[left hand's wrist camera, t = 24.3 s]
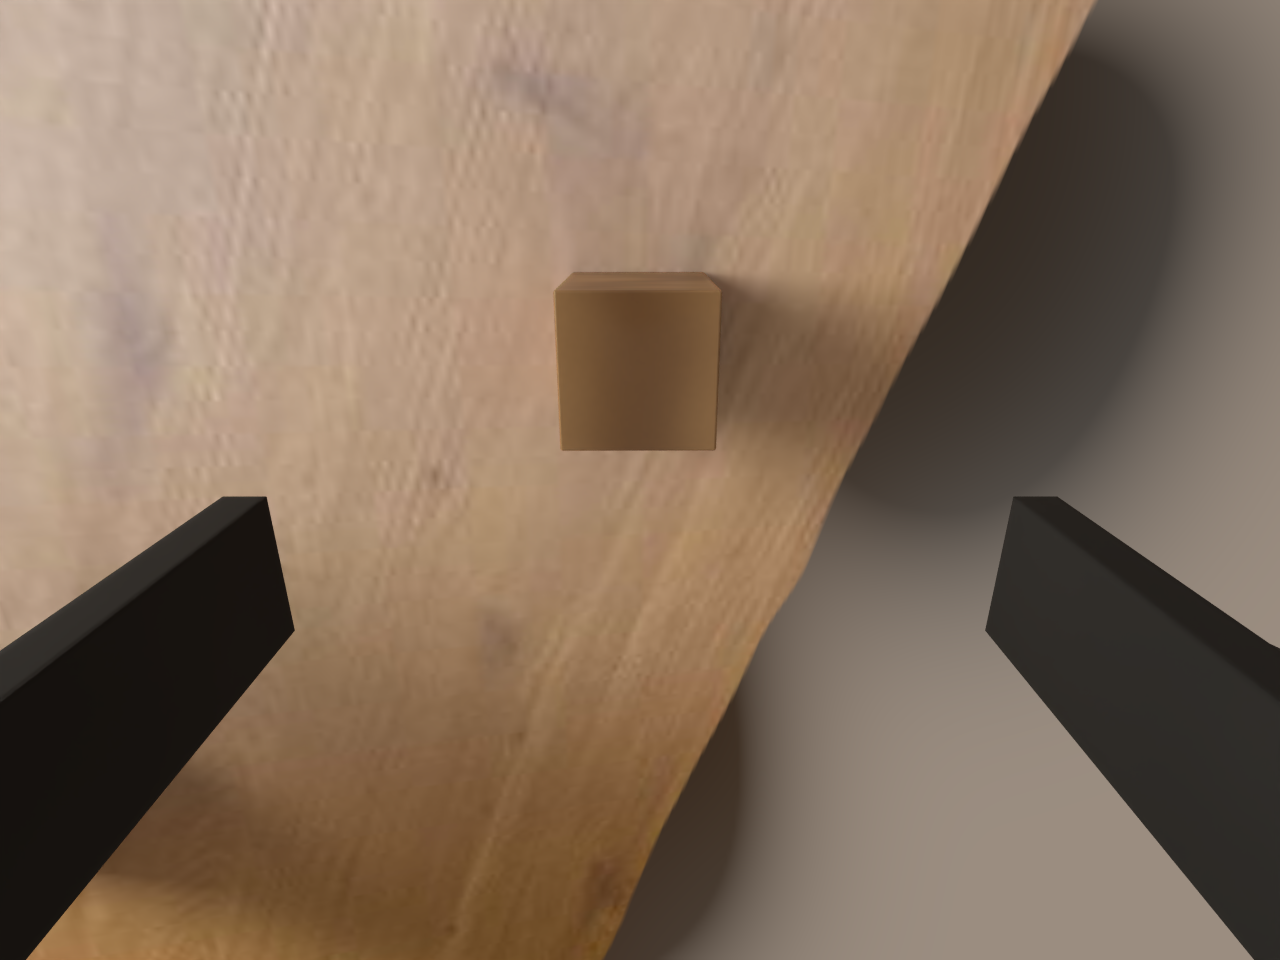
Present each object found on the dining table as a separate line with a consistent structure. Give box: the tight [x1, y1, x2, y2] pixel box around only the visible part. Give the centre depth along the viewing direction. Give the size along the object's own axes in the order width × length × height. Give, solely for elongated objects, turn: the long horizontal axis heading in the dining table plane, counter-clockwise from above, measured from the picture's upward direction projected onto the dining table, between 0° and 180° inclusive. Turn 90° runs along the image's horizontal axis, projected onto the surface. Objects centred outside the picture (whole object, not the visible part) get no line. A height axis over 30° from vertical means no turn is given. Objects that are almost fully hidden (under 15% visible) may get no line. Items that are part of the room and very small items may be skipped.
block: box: [553, 272, 722, 451], centre depth 31 cm, size 6×6×8 cm
